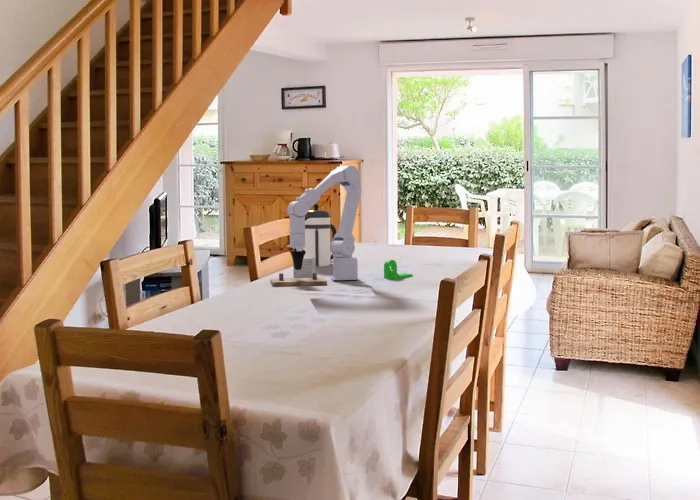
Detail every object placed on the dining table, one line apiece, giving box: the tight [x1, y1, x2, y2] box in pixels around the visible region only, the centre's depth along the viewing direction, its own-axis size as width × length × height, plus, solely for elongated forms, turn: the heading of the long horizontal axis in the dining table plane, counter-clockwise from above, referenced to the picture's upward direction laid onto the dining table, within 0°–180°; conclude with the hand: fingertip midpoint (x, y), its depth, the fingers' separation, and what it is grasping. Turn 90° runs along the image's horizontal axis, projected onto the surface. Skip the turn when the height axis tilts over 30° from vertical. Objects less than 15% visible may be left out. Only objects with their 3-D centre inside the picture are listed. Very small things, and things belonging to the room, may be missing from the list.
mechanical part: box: [383, 259, 413, 281], centre depth 305 cm, size 12×6×8 cm, turn 136°
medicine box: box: [292, 258, 316, 278], centre depth 307 cm, size 8×4×9 cm, turn 75°
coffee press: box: [302, 203, 337, 267], centre depth 338 cm, size 17×16×30 cm
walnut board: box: [269, 272, 328, 288], centre depth 291 cm, size 20×15×4 cm
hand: (297, 269), depth 291 cm, fingers closed
